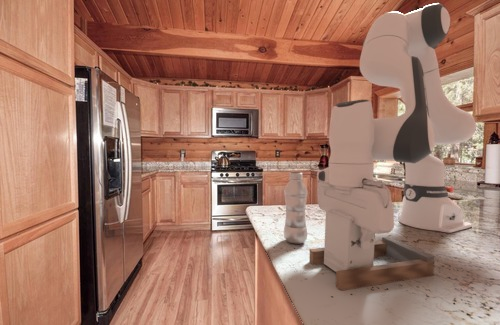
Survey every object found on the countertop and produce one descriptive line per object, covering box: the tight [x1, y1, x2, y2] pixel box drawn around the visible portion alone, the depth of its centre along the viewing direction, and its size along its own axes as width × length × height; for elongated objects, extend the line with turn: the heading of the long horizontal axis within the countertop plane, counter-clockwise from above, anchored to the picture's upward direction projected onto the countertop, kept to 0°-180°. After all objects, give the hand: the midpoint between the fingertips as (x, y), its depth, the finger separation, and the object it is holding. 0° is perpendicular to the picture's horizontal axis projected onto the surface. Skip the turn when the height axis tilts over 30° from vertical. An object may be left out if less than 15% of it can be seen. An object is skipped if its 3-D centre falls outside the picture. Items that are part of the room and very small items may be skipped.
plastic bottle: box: [283, 171, 308, 245], centre depth 68 cm, size 6×7×20 cm
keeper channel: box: [309, 236, 436, 291], centre depth 53 cm, size 22×12×4 cm, turn 104°
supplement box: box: [323, 209, 376, 273], centre depth 52 cm, size 7×7×13 cm
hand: (348, 239), depth 52 cm, fingers closed on supplement box, 8 cm apart
